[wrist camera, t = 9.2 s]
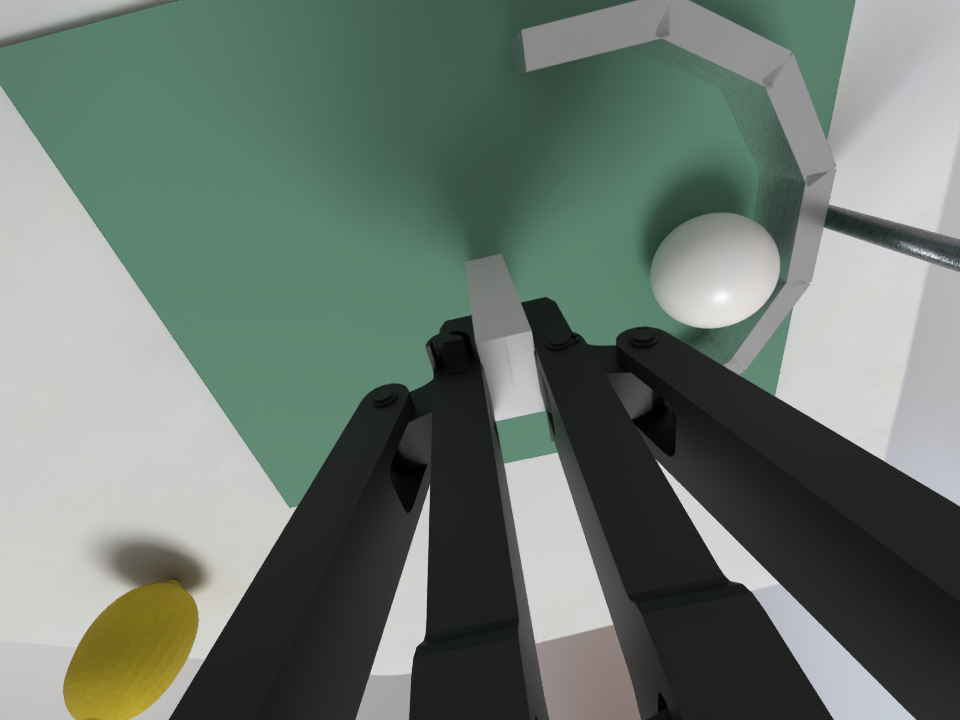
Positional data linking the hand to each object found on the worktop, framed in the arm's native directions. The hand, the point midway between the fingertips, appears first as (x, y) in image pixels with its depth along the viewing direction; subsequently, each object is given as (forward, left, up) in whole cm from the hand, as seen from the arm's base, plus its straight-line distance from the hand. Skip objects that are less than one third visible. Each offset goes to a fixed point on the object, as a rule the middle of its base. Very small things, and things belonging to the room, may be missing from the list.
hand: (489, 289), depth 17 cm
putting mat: (0, 0, -2) cm, 2 cm away
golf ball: (+1, +9, +1) cm, 9 cm away
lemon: (+16, -24, -2) cm, 29 cm away
